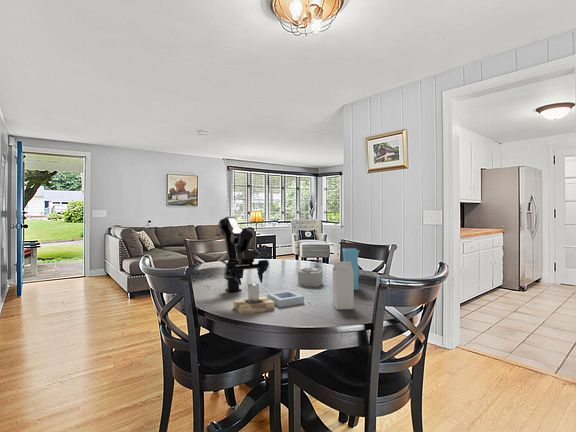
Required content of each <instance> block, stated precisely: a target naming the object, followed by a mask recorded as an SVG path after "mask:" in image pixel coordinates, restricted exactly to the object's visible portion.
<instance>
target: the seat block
mask: <svg viewBox="0 0 576 432" xmlns="http://www.w3.org/2000/svg"><path fill="white" fill-rule="evenodd" d="M266 298H268V299H270V300H272V301H274V304H275V306H276V307H278V308H283V307H289V306H295V305H302V304H305V296H304V295H302V294H300V293H297V292H295V291H294V290H293V291H292V290H286V291H278V292H272V293H270V292H269V293H267V294H266Z"/></svg>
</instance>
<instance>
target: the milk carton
mask: <svg viewBox="0 0 576 432" xmlns="http://www.w3.org/2000/svg"><path fill="white" fill-rule="evenodd" d="M354 291H355V290H354V273H353V269H352V265H351V262H343V261H334V263H333V268H332V305H333V307H334V308H335V309H336V310H339V311H340V310H354V309H355V308H354V306H355V305H354V302H355V301H354V300H355V299H354Z"/></svg>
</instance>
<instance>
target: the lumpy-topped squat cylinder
mask: <svg viewBox="0 0 576 432" xmlns="http://www.w3.org/2000/svg"><path fill="white" fill-rule="evenodd" d="M297 284H298V285H300V286H304V287H315V288H316V287H320V286H321V285H323V270H321V269H320V268H317V267H316V268H315V267H314V266H311V267H307V266H306V267H302V268H301V269H298V270H297Z"/></svg>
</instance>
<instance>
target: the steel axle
mask: <svg viewBox="0 0 576 432" xmlns="http://www.w3.org/2000/svg"><path fill="white" fill-rule="evenodd" d="M247 286H248V287H247V293H248V294H247V295H248V297H247V299H248V304H255V303H259V297H260V285H259V283H258V282H257V283H248V284H247Z"/></svg>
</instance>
